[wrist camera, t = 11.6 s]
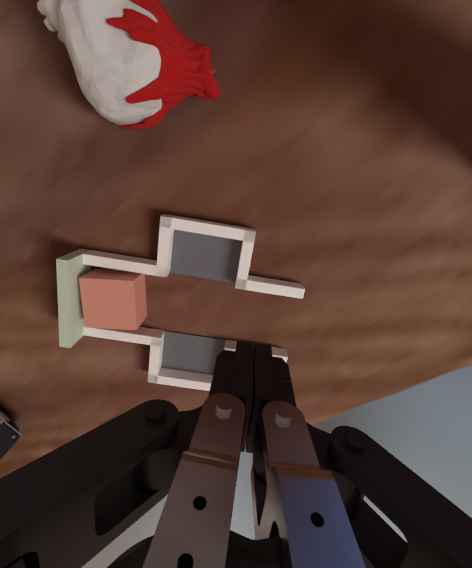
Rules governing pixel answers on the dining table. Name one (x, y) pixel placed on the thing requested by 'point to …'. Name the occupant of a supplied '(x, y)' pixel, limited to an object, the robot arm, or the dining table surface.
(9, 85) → the dining table surface
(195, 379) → the box
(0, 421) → the camera
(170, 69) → the white and red lump
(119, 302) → the block
